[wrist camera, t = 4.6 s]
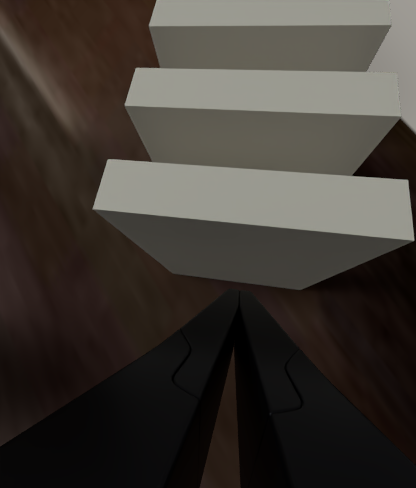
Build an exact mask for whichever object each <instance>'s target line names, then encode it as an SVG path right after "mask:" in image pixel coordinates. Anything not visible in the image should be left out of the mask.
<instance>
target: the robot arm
mask: <svg viewBox="0 0 416 488" xmlns="http://www.w3.org/2000/svg"><path fill="white" fill-rule="evenodd" d="M234 340H235V342H234ZM233 347H234V357H235V379H236V400H237V421H238V442H239V463H240V484H241V488H416V465H415V464H414V463H413V462H412V461H410V460H409V459H408V458H407V457H406V456H405V455H404V454H403V453H402V452H401V451H400V450H399V449H398V448H397V447H396V446H395V445H394V444H393V443H392V442H391V441H390V440H389V439H388V438H387V437H386V436H385V435H384V434H383V433H382V432H381V431H380V430H379V429H378V428H377V427H376V426H375V425H374V424H373V423H372V422H371V421H370V420H368V419H367V418H366V417H365V416H364V415H363V414H362V413H361V412H360V411H359V410H358V409H357V408H356V407H355V406H354V405H353V404H352V403H351V402H350V401H349V400H348V399H347V398H346V397H345V396H344V395H343V394H342V393H341V392H340V391H339V390H338V389H337V388H336V387H335V386H334V385H333V384H332V383H331V382H330V381H329V380H328V379H327V378H326V377H325V376H324V375H323V374H322V373H321V372H320V371H319V370H318V369H317V367H316V366H315V365H314V364H313V363H312V362H311V361H310V360H309V359H308V357H307V356H306V355H305V354H304V353H303V352H302V350H299V347H298V346H297V345H296V344H295V343H294V342H293V340H292V339H291V338H290V337H289V336H288V335H287V333H286V332H285V331H284V330H283V329H282V327H281V326H280V325H279V324H278V323H277V322H276V320H275V319H274V318H273V317H272V316H271V315H270V313H269V312H268V311H267V310H266V309H265V307H264V306H263V305H262V304H261V303H260V302H259V300H258V299H257V298H256V297H255V296H254V295H253V293H252V292H250V291H243V290H241V291H239V290H236V289H228V290H227V291H226V292H224V293H223V294H222V295H221V296H219V297H218V298H217V299H216V300H215V301H213V302H212V303H211V304H210V305H208V306H207V307H206V308H205V309H204V310H202V311H201V312H200V313H199V314H197V315H196V316H195V317H194V318H193V319H191V320H190V321H189V322H188V323H187V324H185V325H184V326H183V327H182V328H180V330H177V331H176V332H175V333H174V334H173V335H171V336H170V337H169V338H167V339H166V340H165V341H163V342H162V343H161V344H159V345H158V346H157V347H155V348H154V349H152V350H151V351H149V352H148V353H146V354H145V355H143V356H142V357H140V358H138V359H137V360H135V361H134V362H132V363H131V364H129V365H127V366H126V367H124V368H123V369H121V370H120V371H118V372H116V373H115V374H113V375H112V376H110V377H109V378H107V379H105V380H104V381H102V382H101V383H99V384H98V385H96V386H94V387H93V388H91V389H90V390H88V391H87V392H85V393H84V394H82V395H80V396H79V397H77V398H76V399H74V400H73V401H71V402H69V403H68V404H66V405H65V406H63V407H62V408H60V409H58V410H57V411H55V412H54V413H52V414H51V415H49V416H47V417H46V418H44V419H43V420H41V421H40V422H38V423H36V424H35V425H33V426H32V427H30V428H29V429H27V430H25V431H24V432H22V433H21V434H19V435H18V436H16V437H14V438H13V439H11V440H10V441H8V442H7V443H5V444H4V445H2V446H0V488H200V484H201V480H202V475H203V471H204V467H205V463H206V459H207V455H208V451H209V447H210V443H211V439H212V434H213V430H214V426H215V422H216V418H217V414H218V410H219V406H220V402H221V397H222V393H223V389H224V385H225V381H226V377H227V373H228V369H229V365H230V361H231V356H232V352H233Z"/></svg>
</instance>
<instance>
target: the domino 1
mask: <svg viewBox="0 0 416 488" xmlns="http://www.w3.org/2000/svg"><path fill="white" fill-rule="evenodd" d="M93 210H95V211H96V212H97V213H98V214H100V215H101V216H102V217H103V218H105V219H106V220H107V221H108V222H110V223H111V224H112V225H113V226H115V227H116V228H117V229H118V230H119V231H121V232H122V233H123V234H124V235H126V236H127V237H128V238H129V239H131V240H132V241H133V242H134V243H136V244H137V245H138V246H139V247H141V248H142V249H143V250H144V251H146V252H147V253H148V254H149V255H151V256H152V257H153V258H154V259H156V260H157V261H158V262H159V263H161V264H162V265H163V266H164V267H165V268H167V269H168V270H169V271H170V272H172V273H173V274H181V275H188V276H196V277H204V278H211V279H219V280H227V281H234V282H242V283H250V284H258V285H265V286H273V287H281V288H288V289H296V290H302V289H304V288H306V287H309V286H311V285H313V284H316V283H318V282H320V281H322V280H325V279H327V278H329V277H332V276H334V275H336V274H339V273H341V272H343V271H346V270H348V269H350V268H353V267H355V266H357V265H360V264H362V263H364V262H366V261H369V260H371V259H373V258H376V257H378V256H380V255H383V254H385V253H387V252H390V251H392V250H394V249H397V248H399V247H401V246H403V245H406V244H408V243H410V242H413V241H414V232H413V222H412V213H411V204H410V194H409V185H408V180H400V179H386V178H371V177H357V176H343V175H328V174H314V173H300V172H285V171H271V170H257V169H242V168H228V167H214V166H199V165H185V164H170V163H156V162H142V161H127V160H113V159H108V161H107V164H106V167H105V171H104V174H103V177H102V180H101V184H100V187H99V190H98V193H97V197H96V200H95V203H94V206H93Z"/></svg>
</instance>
